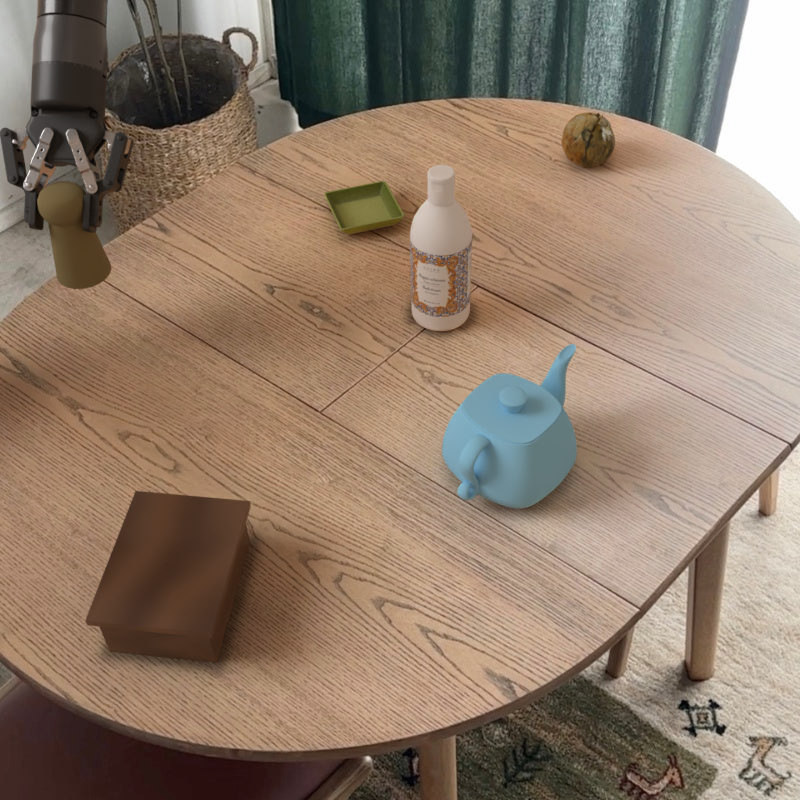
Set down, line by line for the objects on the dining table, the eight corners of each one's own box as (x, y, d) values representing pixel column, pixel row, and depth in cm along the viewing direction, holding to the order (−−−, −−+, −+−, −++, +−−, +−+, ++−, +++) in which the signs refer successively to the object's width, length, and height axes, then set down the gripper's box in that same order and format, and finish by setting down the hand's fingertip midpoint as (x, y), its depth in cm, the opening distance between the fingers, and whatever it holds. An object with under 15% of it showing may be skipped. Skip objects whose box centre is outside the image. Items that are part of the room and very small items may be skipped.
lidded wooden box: (100, 656, 96) (85, 620, 91) (147, 528, 105) (135, 490, 101) (221, 669, 94) (211, 633, 90) (257, 538, 104) (249, 500, 100)
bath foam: (403, 325, 125) (398, 183, 111) (423, 289, 129) (421, 148, 115) (458, 339, 123) (461, 196, 109) (477, 301, 128) (482, 160, 113)
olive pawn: (111, 251, 121) (89, 169, 113) (111, 285, 116) (87, 202, 109) (57, 258, 120) (31, 176, 112) (55, 292, 116) (27, 210, 108)
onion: (622, 150, 149) (629, 100, 143) (605, 181, 144) (612, 130, 138) (570, 139, 151) (575, 89, 146) (552, 169, 146) (557, 118, 141)
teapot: (626, 367, 104) (516, 476, 95) (613, 439, 112) (510, 546, 103) (523, 313, 110) (410, 410, 101) (517, 385, 118) (412, 481, 109)
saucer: (386, 192, 144) (385, 179, 142) (406, 229, 138) (405, 216, 136) (324, 205, 142) (322, 192, 140) (341, 243, 136) (340, 230, 135)
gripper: (-13, 55, 108) (-20, 222, 109) (124, 60, 107) (116, 228, 107) (19, 76, 116) (12, 232, 116) (148, 80, 114) (140, 238, 115)
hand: (62, 229), depth 112 cm, fingers closed on olive pawn, 5 cm apart
